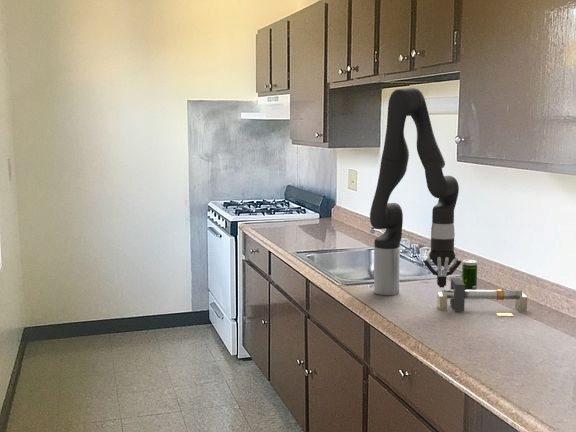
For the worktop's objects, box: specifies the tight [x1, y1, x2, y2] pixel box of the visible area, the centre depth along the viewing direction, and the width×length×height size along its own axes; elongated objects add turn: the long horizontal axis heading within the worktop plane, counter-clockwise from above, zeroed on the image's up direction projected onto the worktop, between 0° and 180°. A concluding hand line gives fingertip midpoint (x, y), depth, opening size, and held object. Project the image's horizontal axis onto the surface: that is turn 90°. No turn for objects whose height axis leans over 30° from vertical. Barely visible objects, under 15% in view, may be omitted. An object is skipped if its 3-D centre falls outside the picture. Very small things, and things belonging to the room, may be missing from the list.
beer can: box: [461, 259, 478, 290], centre depth 236 cm, size 5×5×12 cm
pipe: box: [436, 288, 528, 318], centre depth 214 cm, size 28×11×7 cm, turn 86°
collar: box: [449, 277, 466, 312], centre depth 217 cm, size 3×9×9 cm, turn 176°
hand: (441, 286), depth 217 cm, fingers closed
